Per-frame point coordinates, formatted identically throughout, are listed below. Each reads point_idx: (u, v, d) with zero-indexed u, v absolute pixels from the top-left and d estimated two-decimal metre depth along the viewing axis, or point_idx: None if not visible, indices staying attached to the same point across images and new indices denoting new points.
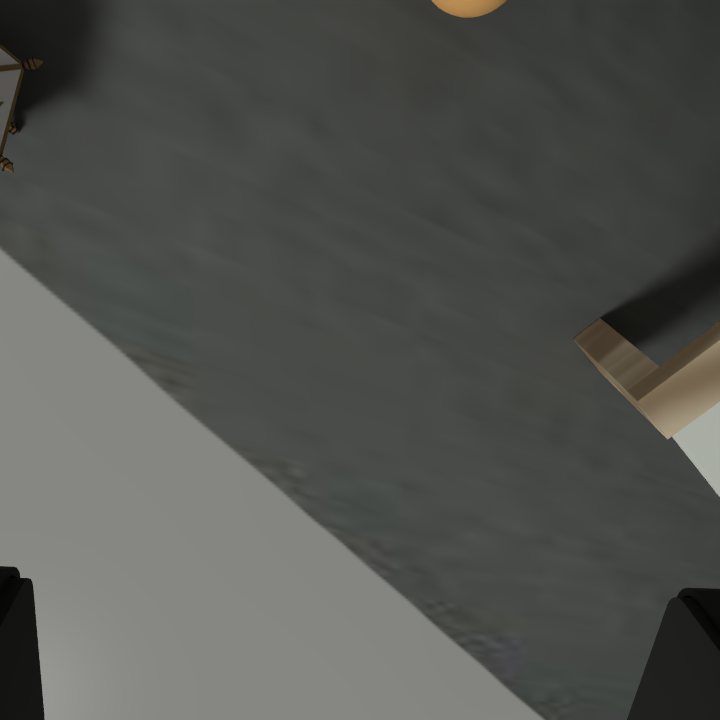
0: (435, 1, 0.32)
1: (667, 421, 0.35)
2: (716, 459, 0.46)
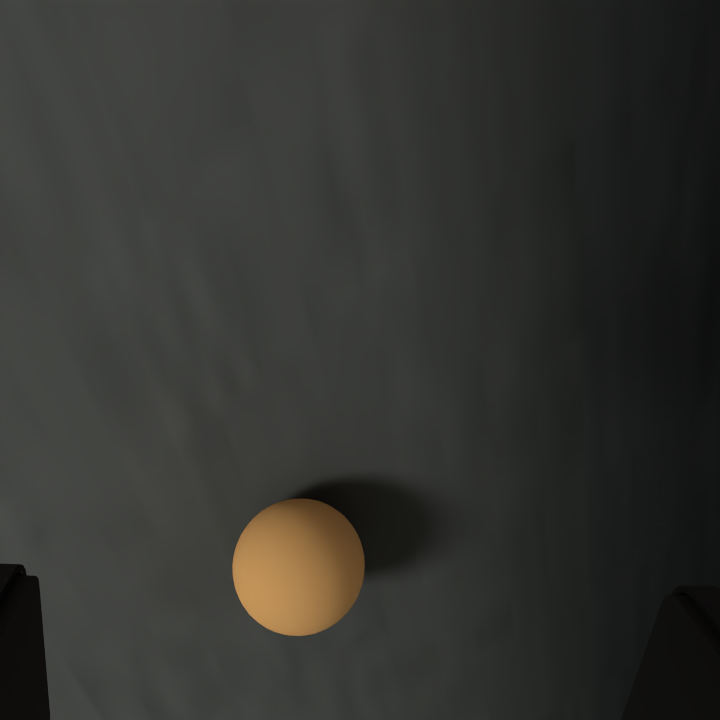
0: None
1: None
2: None
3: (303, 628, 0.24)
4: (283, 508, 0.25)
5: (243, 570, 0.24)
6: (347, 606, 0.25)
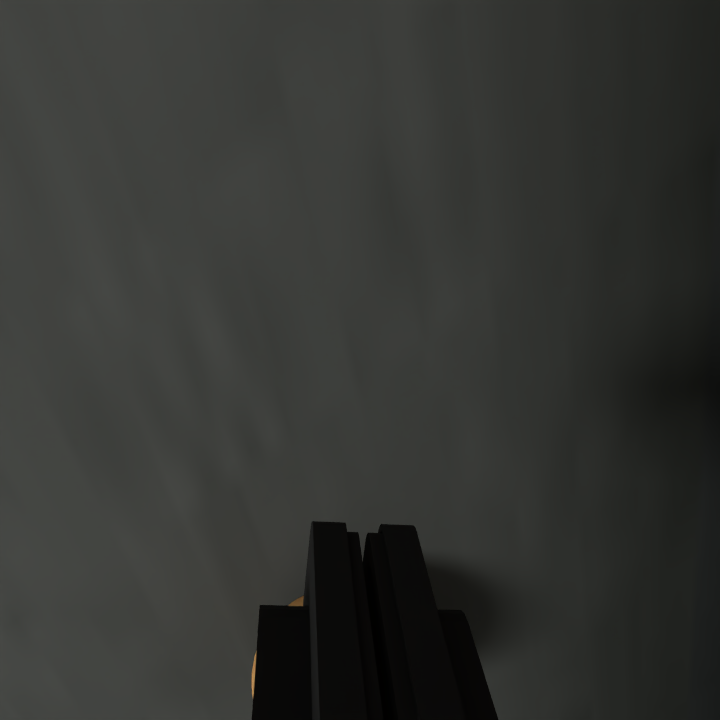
0: None
1: None
2: None
3: None
4: None
5: None
6: None
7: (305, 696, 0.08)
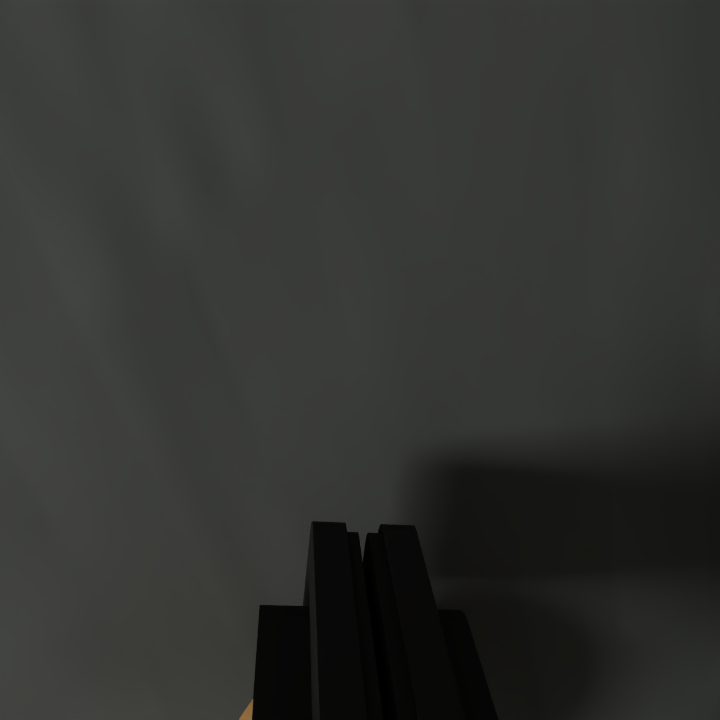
0: None
1: None
2: None
3: None
4: None
5: None
6: None
7: (305, 696, 0.08)
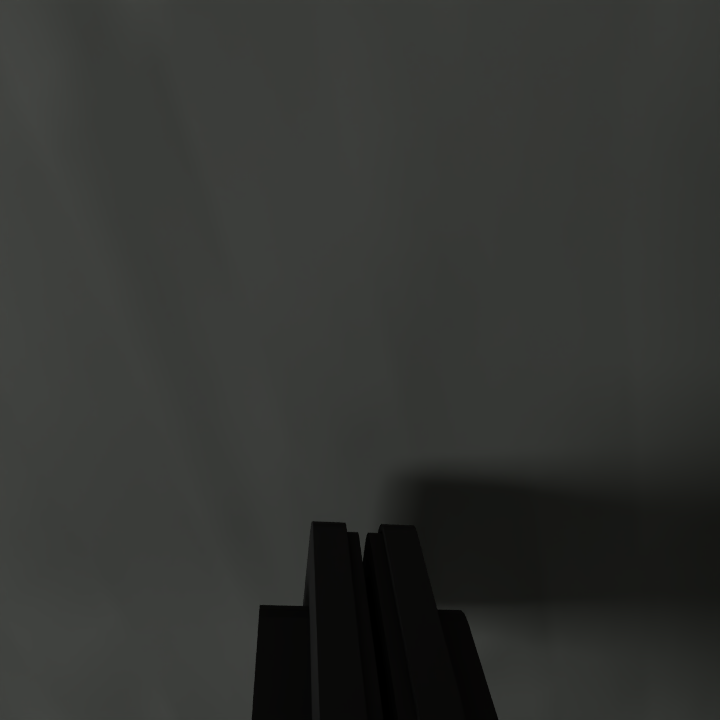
0: None
1: None
2: None
3: None
4: None
5: None
6: None
7: (305, 696, 0.08)
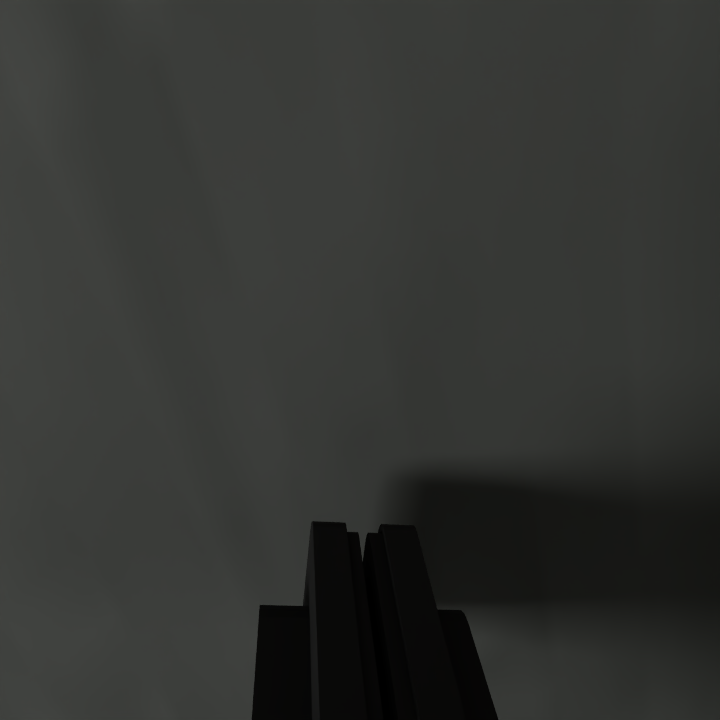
0: None
1: None
2: None
3: None
4: None
5: None
6: None
7: (305, 696, 0.08)
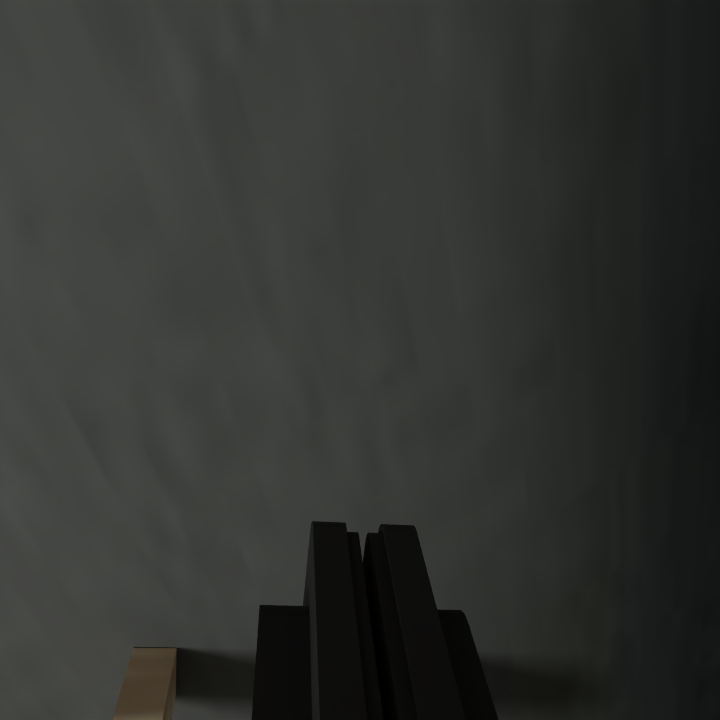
0: None
1: None
2: None
3: None
4: None
5: None
6: None
7: (305, 696, 0.08)
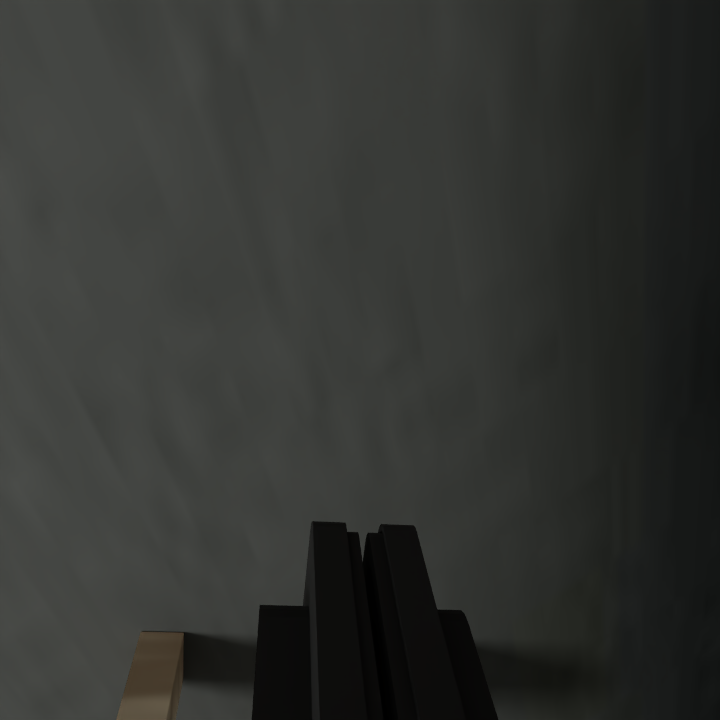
0: None
1: None
2: None
3: None
4: None
5: None
6: None
7: (305, 696, 0.08)
